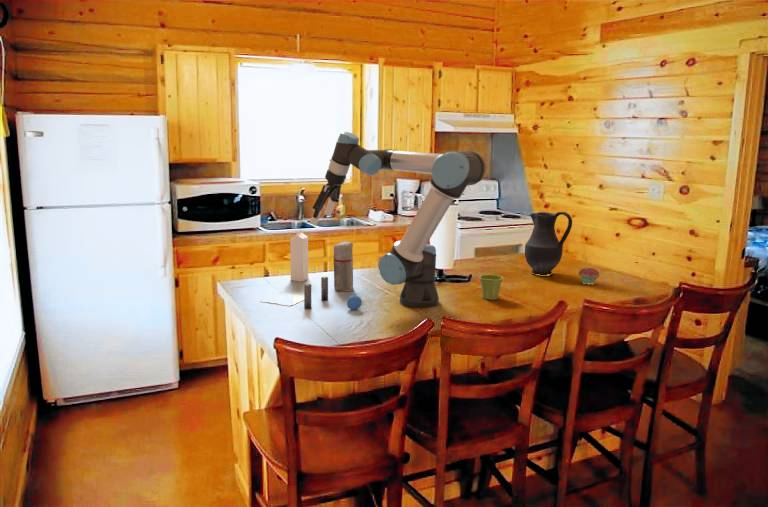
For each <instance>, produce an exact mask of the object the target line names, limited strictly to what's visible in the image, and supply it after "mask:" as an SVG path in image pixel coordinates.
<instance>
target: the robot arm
mask: <svg viewBox="0 0 768 507" xmlns="http://www.w3.org/2000/svg"><path fill="white" fill-rule="evenodd" d="M359 141H360V138H359V136H357V135H356V134H354V133H352V132H350V131H342V132H340V134H339V135H338V139H337V141H336V143H335V146H334V150H333V153H332V155H331V158H330V159H329V163H328V164H329V165H328V168H327V169H326V170H327V171H326V173H325V176H324V177H325V178H324V179H326V181H327V183H326V184H324V185H322V188H321V191H320V192H319V195H318V197H317V198H316V200H315V202H314V204H313V206H312V209H313V213H312V215H311V219H310V221H309V223H310V224H311V225H313V226H315V227H316V226H317V225H318V222H319V220H320V216H321V214H322V209H323V208H324V206H325V204H326V202H327V201H328V202H327V204H326V208H325V211H324V215H326V216H327V217H330V218H331V217H332V214H333V211H334V209H335V206H336V203H339V202H340V200H339V199H340V195H341V189H342V185H344V184H345V180H346V178H347V174H348V173H349V170H350V167H351V165H352V166H353V167H355V168H356V169H358V170H359V171H360V172H362V173H363V174H366V175H367V176H374V175H375V174H377V173H378V172H379V171H381V170H383V171H384V170H385V171H386V170H387V171H398V172H407V173H417V174H428V175H431V178H430V179H429V183H430V189H429V191H428V192H427V194H426V196H425V198H424V199H423V201H422V203H421V205H420V207H419V208H418V209H417V211H416V213H415V215H414V217H413V218H412V219H411V222H410V224H409V226H408V227H407V229H406V231H405V233H404V234H403V236H402V238H401V240H397V241H395V242H394V244H393V246H392V247H391V249H390V250H389V252H387V253H384V254H383V255H381V256H380V258H379V260H378V265H377V267H378V268H377V269H378V270H379V275H380V277H381V278H382V279H383V281H384V282H385V283H387V284H389V285H393V286H396V285H402V284H403V286H402V290H401V292H400V295H399V303H400V304H401V305H403V306H406V307H409V308H419V309H422V308H432V307H436V306H437V305H439V303H440V296H439V293H438V289H437V286H436V267H437V266H436V265H437V262H436V261H437V249H436V247H435V246H434V245H433V244H429V241H430V239H431V238H432V237H433V235H434V233H435V231H436V229H437V228H438V226H439V224H440V223H441V221H442V219H443V218H444V216H445V215H446V213H447V211H448V210H449V207H450V206H451V204H452V202H453V201H454V200H457V199H460V198H461V196H462V195H463V192H464V191H465V190H466V188H467V186H473V185H476V184H478V183H480V182H481V181H482V180H483V179H484V177H485V175H486V172H487V163H486V161H485V158H484V157H483V156H482V155H481V154H480V153H478V152H476V151H473V150H469V151H456V150H453V151H448V152H444V153H435V152H434V153H432V152H431V153H430V152H420V151H407V150H394V149H387V148H385V149H370V150H369V149H366V148H364V147H362V146H361V145H360V144H359ZM329 198H330V199H329ZM328 199H329V200H328Z"/></svg>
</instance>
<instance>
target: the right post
mask: <svg viewBox="0 0 768 507" xmlns="http://www.w3.org/2000/svg"><path fill="white" fill-rule="evenodd" d="M320 279H321V280H320V281H321V282H320V283H321V284H320V287H321V288H320V290H321V292H320V293H321V296H320V298H321V299H320V300H321V301H322V302H328V301H329V277H328V276H321V278H320Z"/></svg>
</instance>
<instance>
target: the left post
mask: <svg viewBox="0 0 768 507" xmlns="http://www.w3.org/2000/svg"><path fill="white" fill-rule="evenodd" d="M303 296H304V301H303V303H304V306H303V309H304V310H311V309H312V284H310V283H305V284H303Z"/></svg>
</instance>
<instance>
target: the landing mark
mask: <svg viewBox="0 0 768 507" xmlns="http://www.w3.org/2000/svg"><path fill="white" fill-rule="evenodd" d="M293 296H294V298H293V302H294V301H295V302H294V303H293V306H294V304H295V305H296V303H297V304H298V303H301V302H304V301H303V300H304V295H299V294H293ZM290 305H291V304H290ZM281 306H284V305H283V304H282V305H281Z"/></svg>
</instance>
